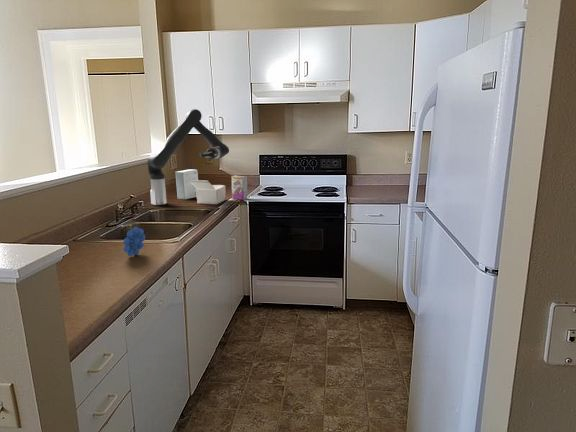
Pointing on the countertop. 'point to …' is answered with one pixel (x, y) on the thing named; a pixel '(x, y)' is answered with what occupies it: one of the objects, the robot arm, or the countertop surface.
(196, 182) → the flap
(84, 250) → the countertop surface
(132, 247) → the grapes
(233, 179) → the candy bar box
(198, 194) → the carton
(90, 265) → the countertop surface
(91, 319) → the countertop surface
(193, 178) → the hard drive box
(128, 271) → the countertop surface
